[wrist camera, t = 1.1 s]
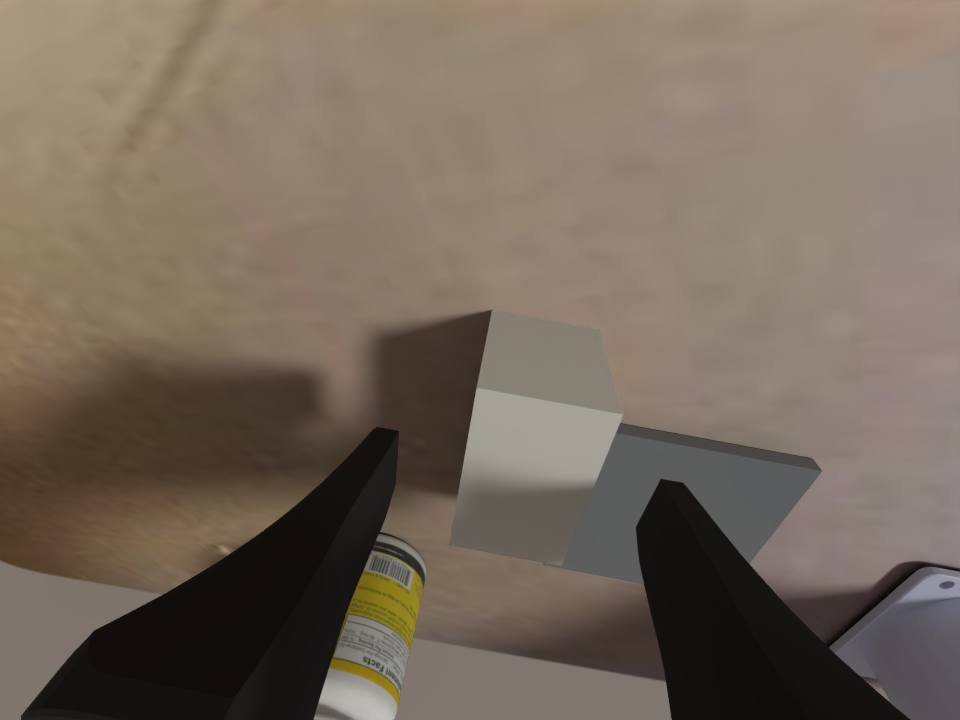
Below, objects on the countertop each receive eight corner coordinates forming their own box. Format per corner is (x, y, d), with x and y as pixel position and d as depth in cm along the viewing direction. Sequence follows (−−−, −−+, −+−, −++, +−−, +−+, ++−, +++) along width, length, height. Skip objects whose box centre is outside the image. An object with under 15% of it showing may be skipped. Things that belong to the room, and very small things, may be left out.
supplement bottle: (351, 589, 23) (270, 807, 16) (320, 530, 21) (209, 756, 14) (438, 589, 22) (393, 819, 15) (415, 528, 20) (349, 767, 13)
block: (599, 327, 14) (623, 414, 10) (544, 494, 18) (547, 600, 14) (492, 308, 14) (476, 387, 10) (462, 478, 18) (443, 580, 14)
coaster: (812, 458, 16) (822, 471, 15) (717, 585, 20) (721, 598, 19) (592, 418, 16) (594, 429, 15) (543, 552, 20) (543, 564, 20)
